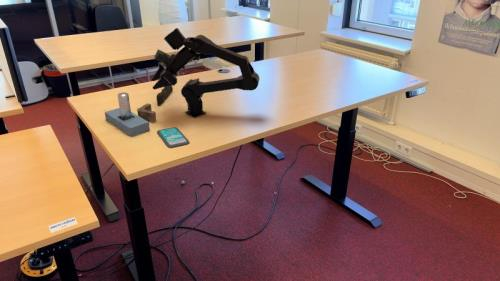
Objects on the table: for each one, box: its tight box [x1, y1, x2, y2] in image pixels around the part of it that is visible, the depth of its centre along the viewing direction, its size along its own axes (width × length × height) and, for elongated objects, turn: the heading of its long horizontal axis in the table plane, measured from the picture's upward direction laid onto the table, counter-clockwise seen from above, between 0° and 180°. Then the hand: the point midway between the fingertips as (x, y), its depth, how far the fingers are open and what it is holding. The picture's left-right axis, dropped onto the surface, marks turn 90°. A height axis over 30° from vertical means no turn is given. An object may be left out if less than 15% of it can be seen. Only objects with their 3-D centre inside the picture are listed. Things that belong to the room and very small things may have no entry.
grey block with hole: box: [104, 107, 151, 137], centre depth 150 cm, size 20×8×4 cm, turn 45°
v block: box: [136, 103, 157, 123], centre depth 156 cm, size 6×11×4 cm, turn 25°
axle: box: [117, 92, 132, 121], centre depth 147 cm, size 4×4×13 cm
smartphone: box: [156, 126, 190, 149], centre depth 142 cm, size 9×1×15 cm
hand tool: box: [156, 85, 174, 106], centre depth 175 cm, size 19×4×5 cm, turn 173°
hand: (152, 84), depth 153 cm, fingers open, 9 cm apart
